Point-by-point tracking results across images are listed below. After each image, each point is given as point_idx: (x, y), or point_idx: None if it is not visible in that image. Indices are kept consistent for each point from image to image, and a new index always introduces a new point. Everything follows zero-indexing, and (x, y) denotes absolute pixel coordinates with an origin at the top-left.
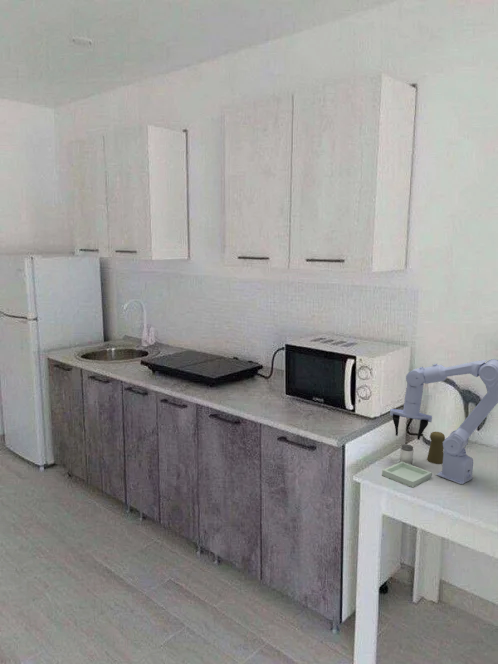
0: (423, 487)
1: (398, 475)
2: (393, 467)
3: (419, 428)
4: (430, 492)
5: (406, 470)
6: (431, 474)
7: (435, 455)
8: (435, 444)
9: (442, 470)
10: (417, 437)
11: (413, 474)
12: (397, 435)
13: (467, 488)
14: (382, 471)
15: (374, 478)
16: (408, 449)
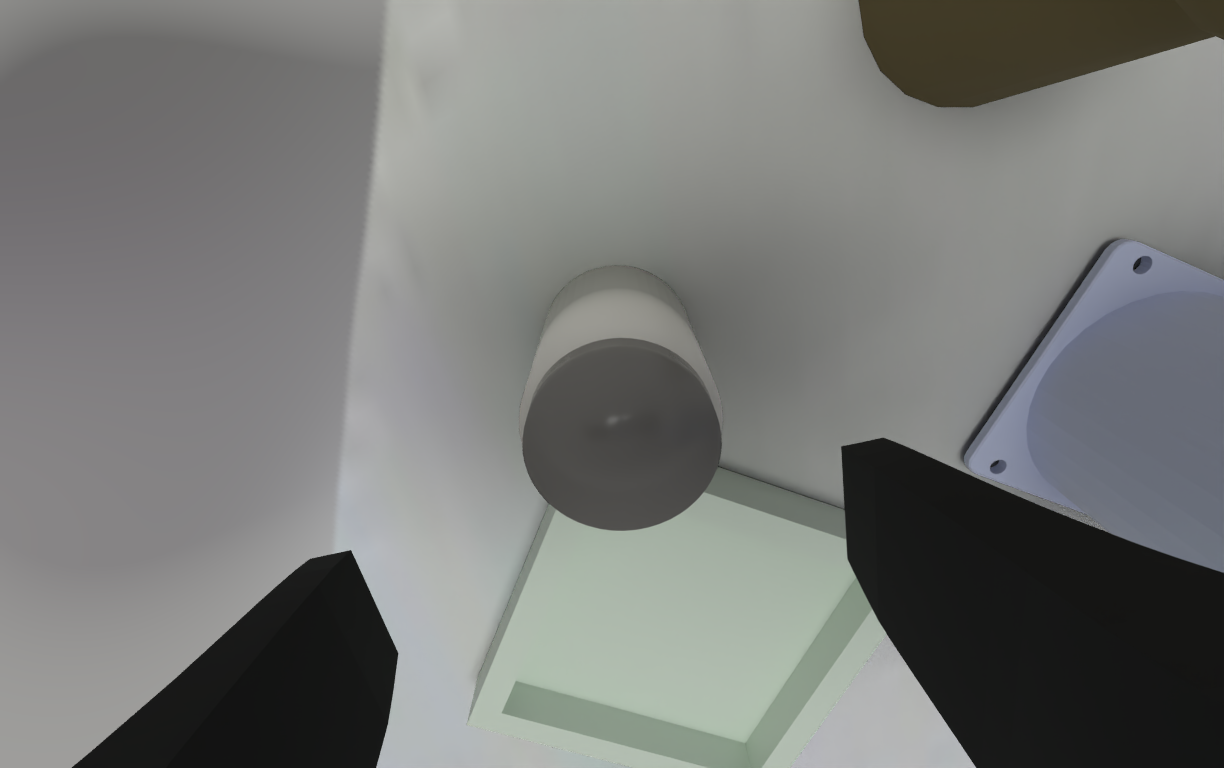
0: (835, 715)
1: (628, 755)
2: (539, 624)
3: (1048, 734)
4: (889, 758)
5: (659, 528)
6: None
7: (1038, 82)
8: (1188, 36)
9: (1056, 467)
10: (852, 505)
11: (737, 576)
12: (394, 665)
13: None
14: (470, 711)
15: (443, 745)
16: (657, 512)
